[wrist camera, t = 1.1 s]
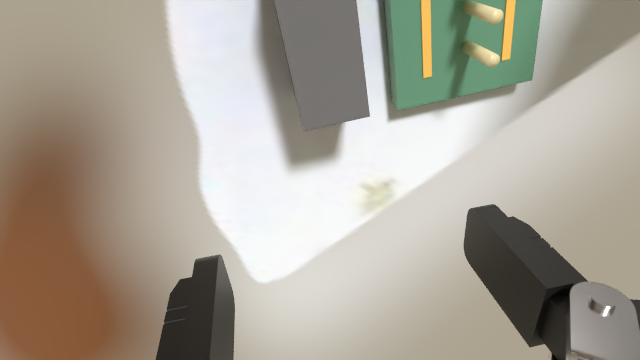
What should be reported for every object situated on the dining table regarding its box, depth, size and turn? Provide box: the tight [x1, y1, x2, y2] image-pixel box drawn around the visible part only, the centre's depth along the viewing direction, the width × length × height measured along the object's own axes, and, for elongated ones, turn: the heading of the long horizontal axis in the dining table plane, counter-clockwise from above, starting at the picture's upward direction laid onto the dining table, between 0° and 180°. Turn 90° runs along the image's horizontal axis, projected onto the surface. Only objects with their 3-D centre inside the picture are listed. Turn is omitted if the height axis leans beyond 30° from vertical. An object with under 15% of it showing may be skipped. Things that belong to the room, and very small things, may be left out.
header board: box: [384, 0, 542, 110], centre depth 24 cm, size 12×10×5 cm
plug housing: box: [274, 0, 370, 131], centre depth 23 cm, size 10×4×6 cm, turn 10°
